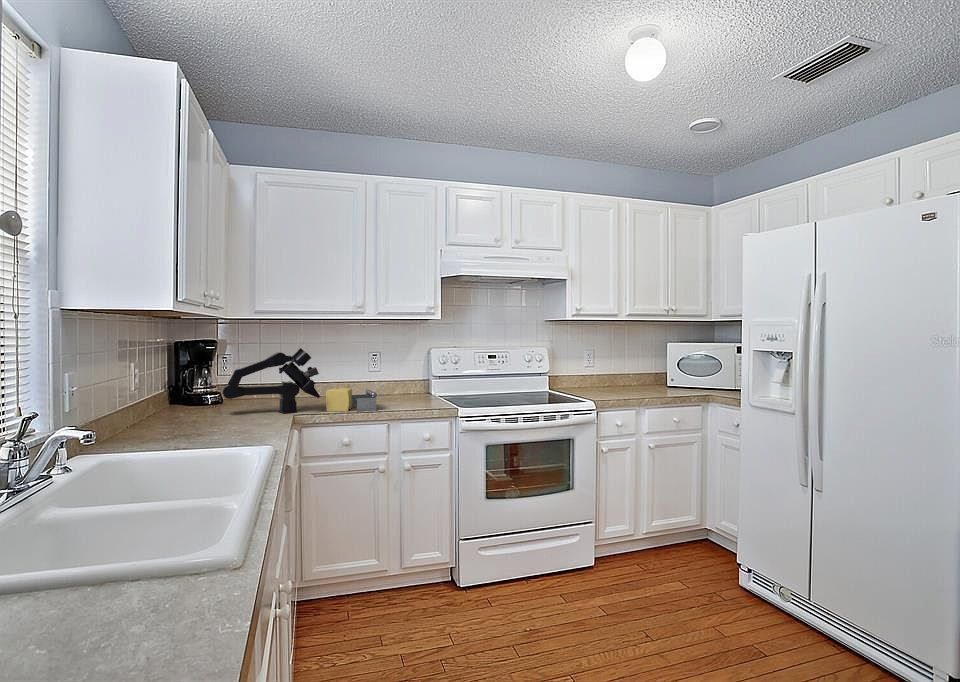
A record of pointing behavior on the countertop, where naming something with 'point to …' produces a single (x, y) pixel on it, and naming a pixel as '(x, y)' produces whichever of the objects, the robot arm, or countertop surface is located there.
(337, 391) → the cheese
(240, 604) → the countertop surface
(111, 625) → the countertop surface
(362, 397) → the leaf bracket
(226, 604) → the countertop surface
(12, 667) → the countertop surface
